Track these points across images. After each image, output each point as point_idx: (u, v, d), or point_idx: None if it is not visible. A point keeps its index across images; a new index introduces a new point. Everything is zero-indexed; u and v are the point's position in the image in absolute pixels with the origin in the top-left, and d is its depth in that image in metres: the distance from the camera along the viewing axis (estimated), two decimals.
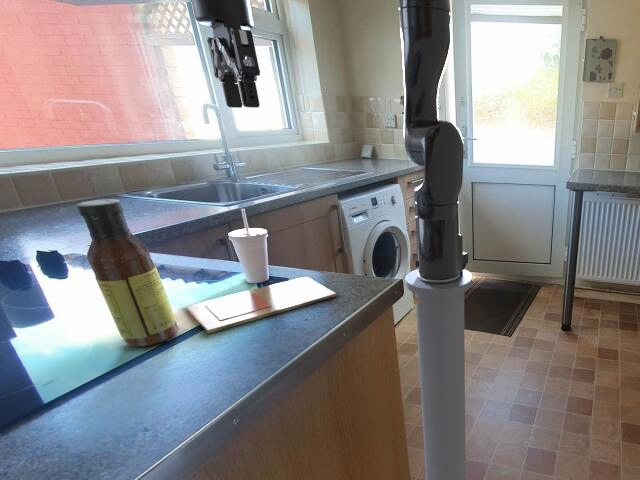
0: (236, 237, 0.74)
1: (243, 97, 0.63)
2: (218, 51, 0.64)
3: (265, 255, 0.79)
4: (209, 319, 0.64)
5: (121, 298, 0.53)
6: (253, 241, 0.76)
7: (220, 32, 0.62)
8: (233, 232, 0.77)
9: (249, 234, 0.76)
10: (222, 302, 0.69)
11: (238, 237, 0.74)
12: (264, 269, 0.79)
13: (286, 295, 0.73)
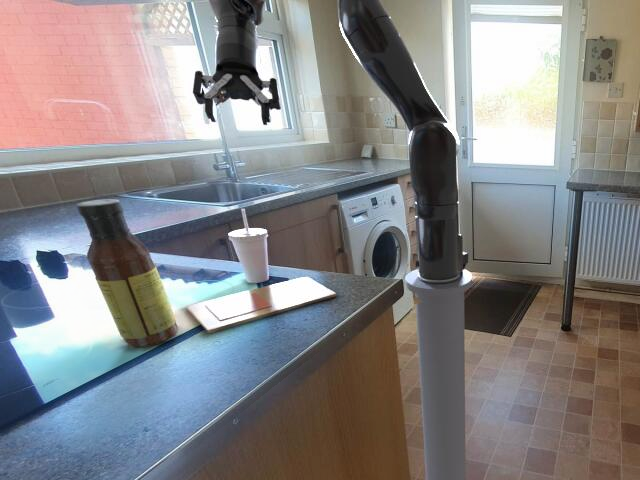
0: (236, 237, 0.74)
1: None
2: None
3: (265, 255, 0.79)
4: (209, 319, 0.64)
5: (121, 298, 0.53)
6: (253, 241, 0.76)
7: None
8: (233, 232, 0.77)
9: (249, 234, 0.76)
10: (222, 302, 0.69)
11: (238, 237, 0.74)
12: (264, 269, 0.79)
13: (286, 295, 0.73)
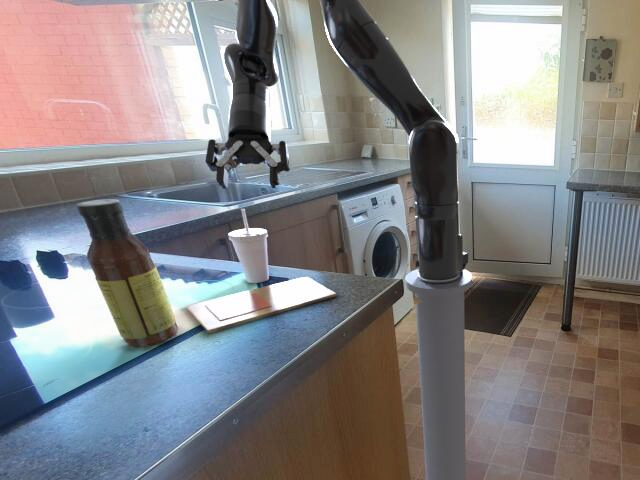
0: (236, 237, 0.74)
1: None
2: None
3: (265, 255, 0.79)
4: (209, 319, 0.64)
5: (121, 298, 0.53)
6: (253, 241, 0.76)
7: None
8: (233, 232, 0.77)
9: (249, 234, 0.76)
10: (222, 302, 0.69)
11: (238, 237, 0.74)
12: (264, 269, 0.79)
13: (286, 295, 0.73)
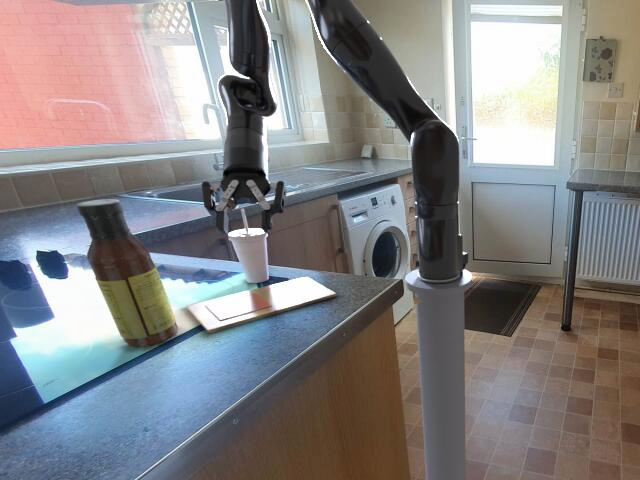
0: (236, 237, 0.74)
1: None
2: None
3: (265, 255, 0.79)
4: (209, 319, 0.64)
5: (121, 298, 0.53)
6: (253, 241, 0.76)
7: None
8: (233, 232, 0.77)
9: (249, 234, 0.76)
10: (222, 302, 0.69)
11: (238, 237, 0.74)
12: (264, 269, 0.79)
13: (286, 295, 0.73)
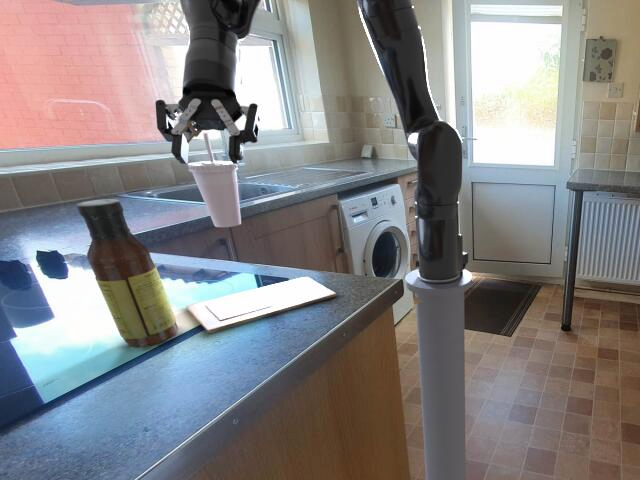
0: (196, 166, 0.60)
1: None
2: None
3: (235, 193, 0.65)
4: (209, 319, 0.64)
5: (121, 298, 0.53)
6: (218, 173, 0.62)
7: None
8: (195, 163, 0.63)
9: (213, 164, 0.62)
10: (222, 302, 0.69)
11: (199, 166, 0.60)
12: (235, 211, 0.65)
13: (286, 295, 0.73)
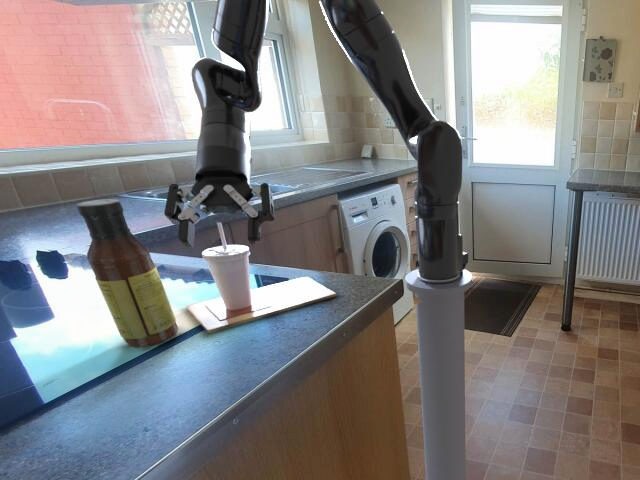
0: (211, 257, 0.62)
1: None
2: None
3: (247, 277, 0.67)
4: (209, 319, 0.64)
5: (121, 298, 0.53)
6: (231, 261, 0.63)
7: None
8: (208, 250, 0.65)
9: (227, 253, 0.63)
10: (222, 302, 0.69)
11: (213, 257, 0.62)
12: (246, 293, 0.67)
13: (286, 295, 0.73)
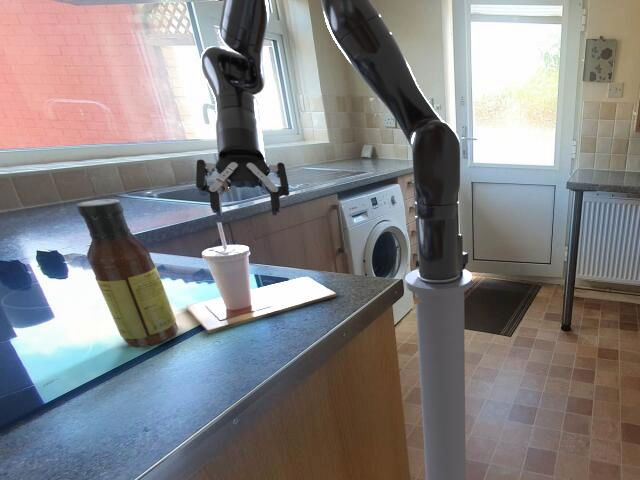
0: (211, 257, 0.62)
1: None
2: None
3: (247, 277, 0.67)
4: (209, 319, 0.64)
5: (121, 298, 0.53)
6: (231, 261, 0.63)
7: None
8: (208, 250, 0.65)
9: (227, 253, 0.63)
10: (222, 302, 0.69)
11: (213, 257, 0.62)
12: (246, 293, 0.67)
13: (286, 295, 0.73)
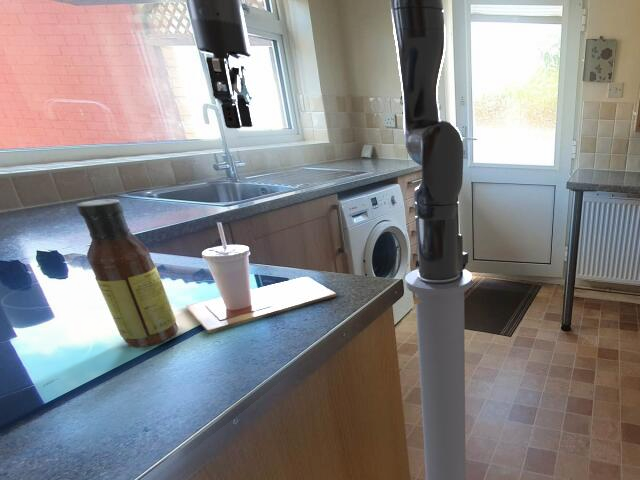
0: (211, 257, 0.62)
1: (225, 119, 0.69)
2: None
3: (247, 277, 0.67)
4: (209, 319, 0.64)
5: (121, 298, 0.53)
6: (231, 261, 0.63)
7: None
8: (208, 250, 0.65)
9: (227, 253, 0.63)
10: (222, 302, 0.69)
11: (213, 257, 0.62)
12: (246, 293, 0.67)
13: (286, 295, 0.73)
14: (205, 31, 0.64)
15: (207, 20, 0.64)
